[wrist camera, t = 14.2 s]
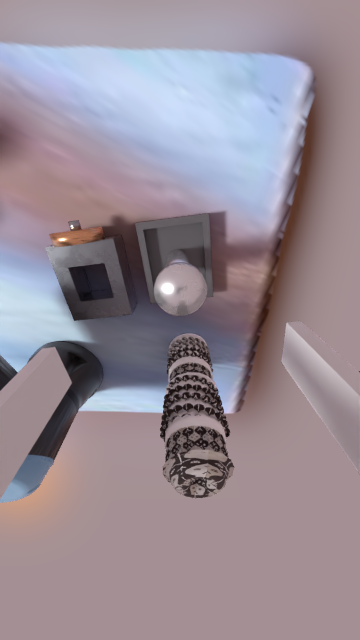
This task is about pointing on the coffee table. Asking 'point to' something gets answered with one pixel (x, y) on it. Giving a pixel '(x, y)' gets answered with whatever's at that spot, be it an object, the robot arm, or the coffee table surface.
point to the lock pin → (180, 286)
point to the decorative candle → (194, 422)
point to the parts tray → (175, 246)
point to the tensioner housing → (68, 265)
